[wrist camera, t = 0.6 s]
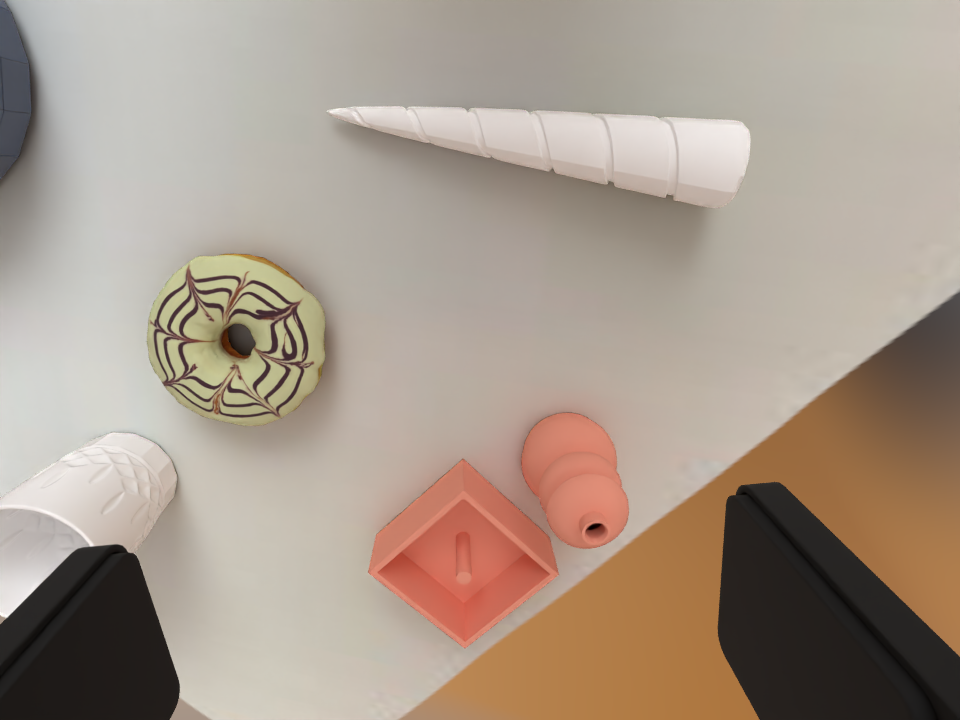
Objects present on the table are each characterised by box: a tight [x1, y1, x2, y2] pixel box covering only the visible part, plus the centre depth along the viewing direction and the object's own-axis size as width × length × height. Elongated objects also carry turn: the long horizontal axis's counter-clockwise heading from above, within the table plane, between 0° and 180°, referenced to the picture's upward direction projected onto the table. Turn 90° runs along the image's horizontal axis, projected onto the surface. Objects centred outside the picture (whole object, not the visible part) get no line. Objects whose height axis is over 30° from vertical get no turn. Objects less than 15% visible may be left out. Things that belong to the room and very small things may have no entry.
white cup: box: [0, 432, 177, 618], centre depth 35 cm, size 8×8×10 cm
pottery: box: [368, 413, 629, 648], centre depth 37 cm, size 18×10×10 cm, turn 134°
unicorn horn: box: [327, 106, 751, 208], centre depth 32 cm, size 5×24×5 cm, turn 79°
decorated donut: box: [147, 254, 325, 426], centre depth 35 cm, size 10×11×4 cm
